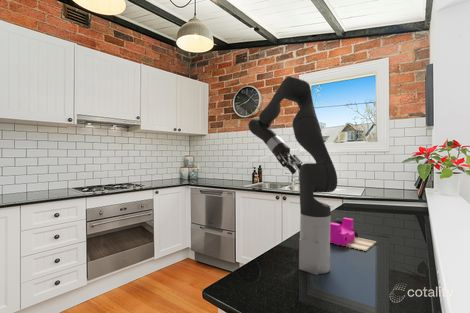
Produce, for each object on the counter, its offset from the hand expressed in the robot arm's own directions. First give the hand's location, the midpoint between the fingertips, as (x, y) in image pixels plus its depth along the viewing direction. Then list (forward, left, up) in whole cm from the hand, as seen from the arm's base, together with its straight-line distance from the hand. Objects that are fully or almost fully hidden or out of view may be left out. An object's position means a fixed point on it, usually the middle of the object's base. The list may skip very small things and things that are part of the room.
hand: (299, 172), depth 122 cm
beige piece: (+4, -17, -28) cm, 33 cm away
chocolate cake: (+16, -16, -28) cm, 36 cm away
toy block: (+4, -19, -27) cm, 33 cm away
